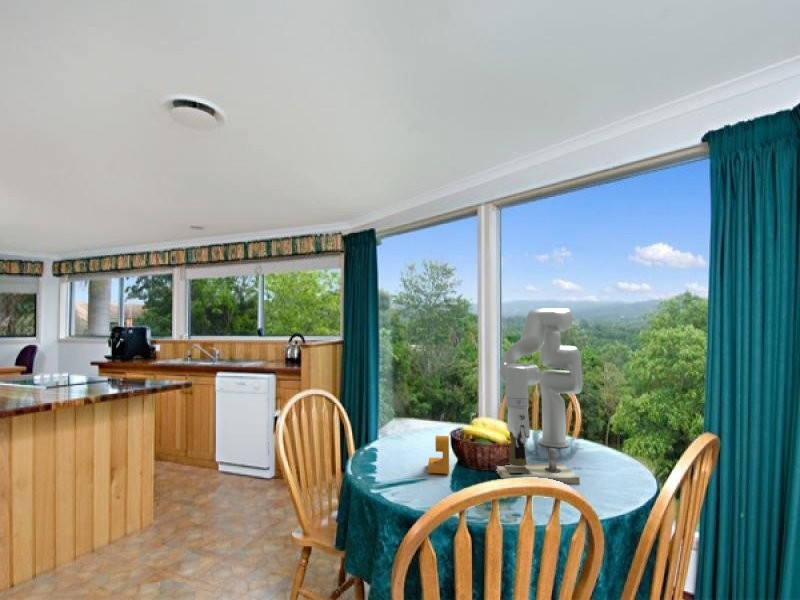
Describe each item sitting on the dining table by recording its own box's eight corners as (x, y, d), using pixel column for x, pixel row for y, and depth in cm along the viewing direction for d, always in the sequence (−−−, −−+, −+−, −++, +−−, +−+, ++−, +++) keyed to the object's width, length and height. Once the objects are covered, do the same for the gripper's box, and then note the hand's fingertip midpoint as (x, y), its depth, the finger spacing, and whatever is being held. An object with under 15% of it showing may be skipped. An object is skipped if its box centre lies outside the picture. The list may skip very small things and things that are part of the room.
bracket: (429, 464, 158) (429, 431, 159) (448, 465, 157) (448, 432, 158) (427, 475, 147) (427, 439, 148) (449, 476, 147) (448, 440, 147)
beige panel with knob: (495, 470, 152) (494, 444, 153) (561, 468, 153) (561, 443, 154) (506, 484, 138) (506, 456, 139) (579, 483, 139) (579, 455, 140)
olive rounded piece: (509, 465, 143) (508, 432, 144) (507, 459, 149) (507, 427, 150) (528, 466, 142) (527, 432, 143) (525, 460, 148) (525, 428, 149)
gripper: (536, 406, 139) (537, 464, 138) (519, 398, 155) (520, 449, 154) (513, 407, 138) (514, 465, 137) (499, 398, 155) (500, 449, 154)
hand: (517, 456), depth 146 cm, fingers closed on olive rounded piece, 4 cm apart
